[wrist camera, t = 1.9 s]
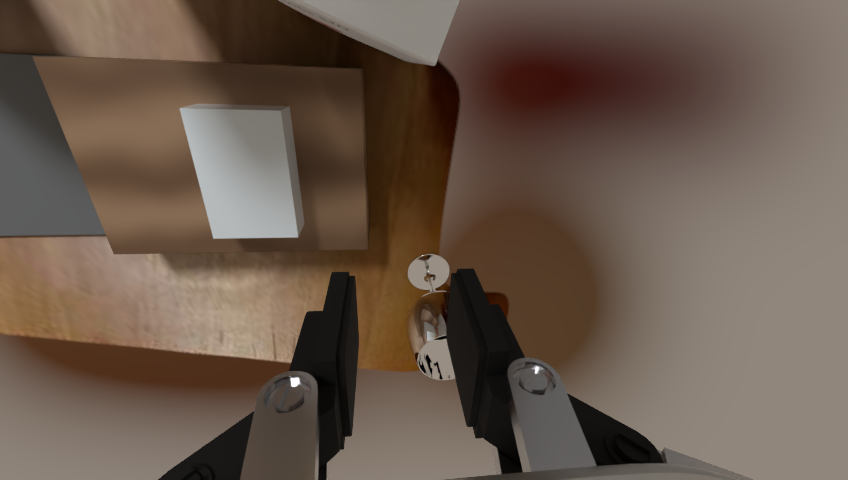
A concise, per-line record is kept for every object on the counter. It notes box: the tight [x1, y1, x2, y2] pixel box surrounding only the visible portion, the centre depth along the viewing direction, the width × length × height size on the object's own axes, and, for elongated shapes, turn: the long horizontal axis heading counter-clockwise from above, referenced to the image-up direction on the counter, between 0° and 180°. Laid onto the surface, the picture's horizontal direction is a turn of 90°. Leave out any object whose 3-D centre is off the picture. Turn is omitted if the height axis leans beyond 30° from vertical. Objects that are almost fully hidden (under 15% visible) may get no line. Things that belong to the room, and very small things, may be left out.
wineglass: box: [406, 254, 455, 380], centre depth 32 cm, size 6×6×12 cm
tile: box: [179, 104, 305, 239], centre depth 25 cm, size 9×6×2 cm, turn 178°
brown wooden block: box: [32, 56, 369, 254], centre depth 28 cm, size 14×20×4 cm
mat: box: [0, 54, 105, 236], centre depth 28 cm, size 14×12×1 cm
